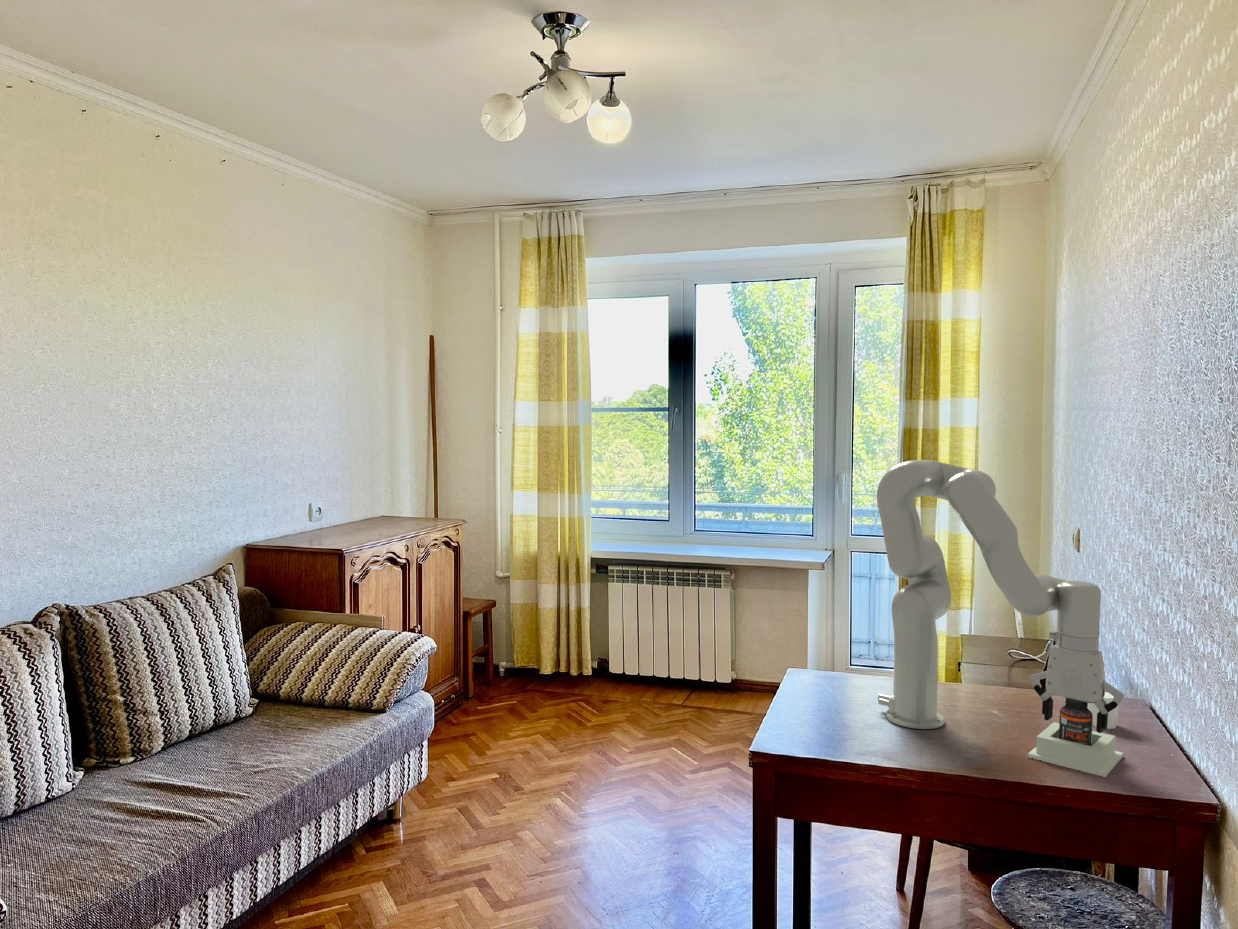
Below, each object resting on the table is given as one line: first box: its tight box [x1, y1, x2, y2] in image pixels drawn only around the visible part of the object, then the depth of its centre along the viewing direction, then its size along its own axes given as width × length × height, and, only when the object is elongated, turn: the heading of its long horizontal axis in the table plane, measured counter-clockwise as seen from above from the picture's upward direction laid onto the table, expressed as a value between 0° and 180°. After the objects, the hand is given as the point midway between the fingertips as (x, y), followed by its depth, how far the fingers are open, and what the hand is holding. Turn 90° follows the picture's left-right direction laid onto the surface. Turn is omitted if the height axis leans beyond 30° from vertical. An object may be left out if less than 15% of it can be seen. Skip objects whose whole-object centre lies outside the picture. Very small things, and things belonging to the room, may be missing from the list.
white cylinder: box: [1087, 691, 1120, 730], centre depth 186 cm, size 7×7×7 cm
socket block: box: [1027, 722, 1124, 778], centre depth 168 cm, size 14×14×4 cm
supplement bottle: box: [1058, 698, 1094, 746], centre depth 167 cm, size 6×6×11 cm
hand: (1073, 724), depth 168 cm, fingers open, 9 cm apart
